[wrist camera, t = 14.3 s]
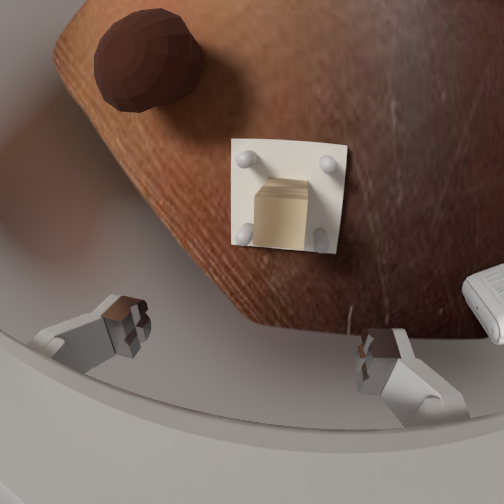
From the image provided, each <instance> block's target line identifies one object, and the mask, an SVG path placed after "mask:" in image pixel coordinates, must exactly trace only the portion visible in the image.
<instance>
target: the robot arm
mask: <svg viewBox="0 0 504 504" xmlns="http://www.w3.org/2000/svg"><path fill="white" fill-rule="evenodd" d="M147 310H148V307H147V303H146V302H145V301H144V300H141V299H137V298H132V297H127V296H123V295H119V294H111V295H110V296H108V297H107V298H106V299H105V300H104V301H103V302H102V303H101V304H100V305H99V306H98V307H97V308H96V309H95V310H94V311H93V312H92V313H91V314H89V313H87V314H84V315H81V316H79V317H76V318H73V319H70V320H68V321H65V322H62V323H59V324H57V325H54V326H51V327H48V328H45V329H43V330H41V331H40V332H39V333H38V334H37V335H36V336H35V337H34V338H33V339H32V340H31V341H30V342H29V343H28V344H27V345H25V344H23V343H22V342H19V341H18V340H16V339H15V338H13V337H11V336H10V335H8V334H7V333H5V332H3V331H2V330H0V504H504V411H501V412H497V413H494V414H489V415H485V416H481V417H476V418H472V419H470V416H469V413H468V410H467V407H466V404H465V401H464V399H463V396H462V394H461V393H460V392H459V391H458V390H457V389H455V388H454V387H453V386H452V385H450V384H449V383H448V382H447V381H446V380H445V379H443V378H442V377H441V376H440V375H439V374H437V373H436V372H435V371H434V370H432V369H431V368H430V367H429V366H428V365H426V364H425V363H424V362H423V361H421V360H420V359H416V358H415V356H414V353H413V350H412V347H411V344H410V341H409V339H408V336H407V333H406V331H405V330H404V329H378V328H365V329H364V330H363V333H362V336H361V338H362V344H360V345H359V346H358V349H357V352H356V358H355V369H356V371H357V373H358V374H359V375H358V378H357V388H358V394H372V395H374V394H375V395H380V396H381V397H382V399H383V400H384V401H385V403H386V404H387V405H388V407H389V408H390V409H391V410H392V412H393V413H394V414H395V415H396V417H397V418H398V419H399V421H400V422H401V423H402V425H403V426H404V427H405V428H396V429H371V430H339V429H316V428H301V427H290V426H281V425H272V424H265V423H258V422H251V421H245V420H239V419H233V418H227V417H222V416H217V415H213V414H208V413H204V412H199V411H195V410H191V409H187V408H183V407H179V406H176V405H172V404H168V403H164V402H161V401H158V400H154V399H151V398H148V397H145V396H142V395H139V394H136V393H133V392H130V391H127V390H124V389H121V388H119V387H116V386H113V385H111V384H108V383H105V382H103V381H100V380H98V379H95V378H93V377H91V376H88V375H86V374H84V373H86V372H87V371H89V370H91V369H92V368H94V367H96V366H97V365H99V364H101V363H103V362H104V361H106V360H108V359H109V358H111V357H113V356H115V354H118V355H121V356H125V357H128V358H132V359H133V358H134V357H135V355H136V354H137V352H138V351H139V350H140V348H141V346H140V343H142V342H144V341H146V340H147V338H148V337H149V334H150V331H151V321H150V318H149V317H148V316H147V314H146V312H147Z"/></svg>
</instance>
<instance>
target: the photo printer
mask: <svg viewBox="0 0 504 504" xmlns="http://www.w3.org/2000/svg"><path fill="white" fill-rule="evenodd" d="M462 293H463V295H464V297H465V300H466V302H467V304H468V305H469V307H470V308H471V310H472V311H473V313H474V314H475V316H476V317H477V319H478V320H479V322H480V323H481V325H482V326H483V328H484V330H485V331H486V333H487V334H488V336H489V338H490V339H491V341H492V342H493V343H494V344H496V345H504V264H501V265H498V266H495V267H492V268H489V269H487V270H484V271H481V272H478V273H475V274H473V275H471V276H469V277H467V278H466V280H465V281H464V283H463V286H462Z"/></svg>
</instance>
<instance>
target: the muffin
mask: <svg viewBox="0 0 504 504" xmlns="http://www.w3.org/2000/svg"><path fill="white" fill-rule="evenodd" d="M203 69H204V66H203V63H202V59H201V48H200V46H199V45H198V43H197V42H196V40H195V39H194V37H193V36H192V35H191V33H190V31H189V30H188V28H187V27H186V25H185V23H184V22H183V20H182V19H181V17H180V16H178V15H176V14H174V13H171V12H169V11H167V10H164V9H162V8H159V9H148V10H140V11H138V12H134V13H131V14H129V15H128V16H126V17H124V18H122V19H121V20H119V21H117V22H116V23H114V24H113V25H112V26H111V27H110V28H109V29H108V31H107V32H106V33H105V34H104V35H103V37H102V38H101V39H100V42H99V44H98V47H97V50H96V52H95V55H94V77H95V80H96V83H97V86H98V88H99V90H100V92H101V94H102V97H103V99H104V100H105V101H106V102H107V103H109V104H110V105H112V106H113V107H114V108H116V109H117V110H119V111H121V112H136V113H141V112H143V111H146V110H148V109H150V108H152V107H155V106H157V105H160V104H166V103H172V102H175V101H176V100H177V99H179V98H180V97H181V96H182V95H184V94H186V93H188V92H190V91H192V90H194V87H195V84H196V82H197V79H198V77H199V76H200V74H201V72H202V71H203Z"/></svg>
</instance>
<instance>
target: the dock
mask: <svg viewBox="0 0 504 504" xmlns="http://www.w3.org/2000/svg"><path fill="white" fill-rule="evenodd" d="M346 159H347V146H346V145H338V144H329V143H318V142H306V141H292V140H274V139H240V138H233V139H231V244H234V245H240V246H255V245H253V227H254V196H255V195H256V193H257V192H258V191H259V190H260V188H261V187H262V186H263V184H264V183H265V182H266V181H267V179H268V178H269V177H270V178H285V179H297V180H307V185H308V205H307V217H306V228H305V239H304V249H303V250H300V251H311V252H318V253H332V254H336V250H337V243H338V235H339V228H340V220H341V211H342V202H343V193H344V183H345V172H346ZM256 247H266V246H256ZM267 248H277V247H267ZM278 249H288V248H278ZM289 250H298V249H289Z"/></svg>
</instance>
